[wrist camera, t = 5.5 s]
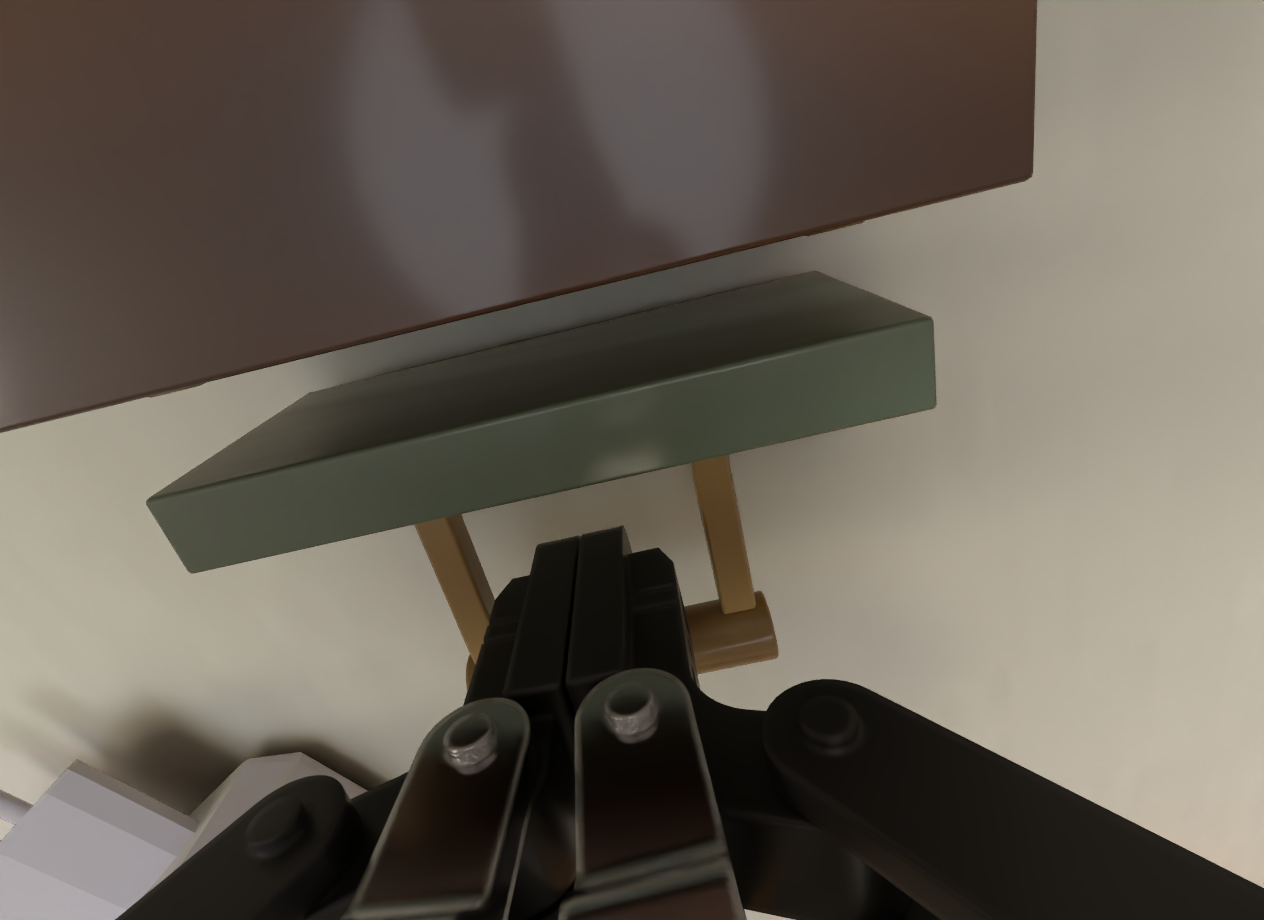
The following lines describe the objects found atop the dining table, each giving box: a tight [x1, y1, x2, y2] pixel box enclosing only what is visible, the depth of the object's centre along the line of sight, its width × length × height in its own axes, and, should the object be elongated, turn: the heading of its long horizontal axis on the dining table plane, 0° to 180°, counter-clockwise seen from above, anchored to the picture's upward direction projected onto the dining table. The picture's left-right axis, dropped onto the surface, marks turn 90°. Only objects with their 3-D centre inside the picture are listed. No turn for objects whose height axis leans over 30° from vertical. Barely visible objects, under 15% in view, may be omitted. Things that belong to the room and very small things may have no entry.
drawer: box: [146, 221, 937, 691], centre depth 9 cm, size 16×10×5 cm, turn 13°
